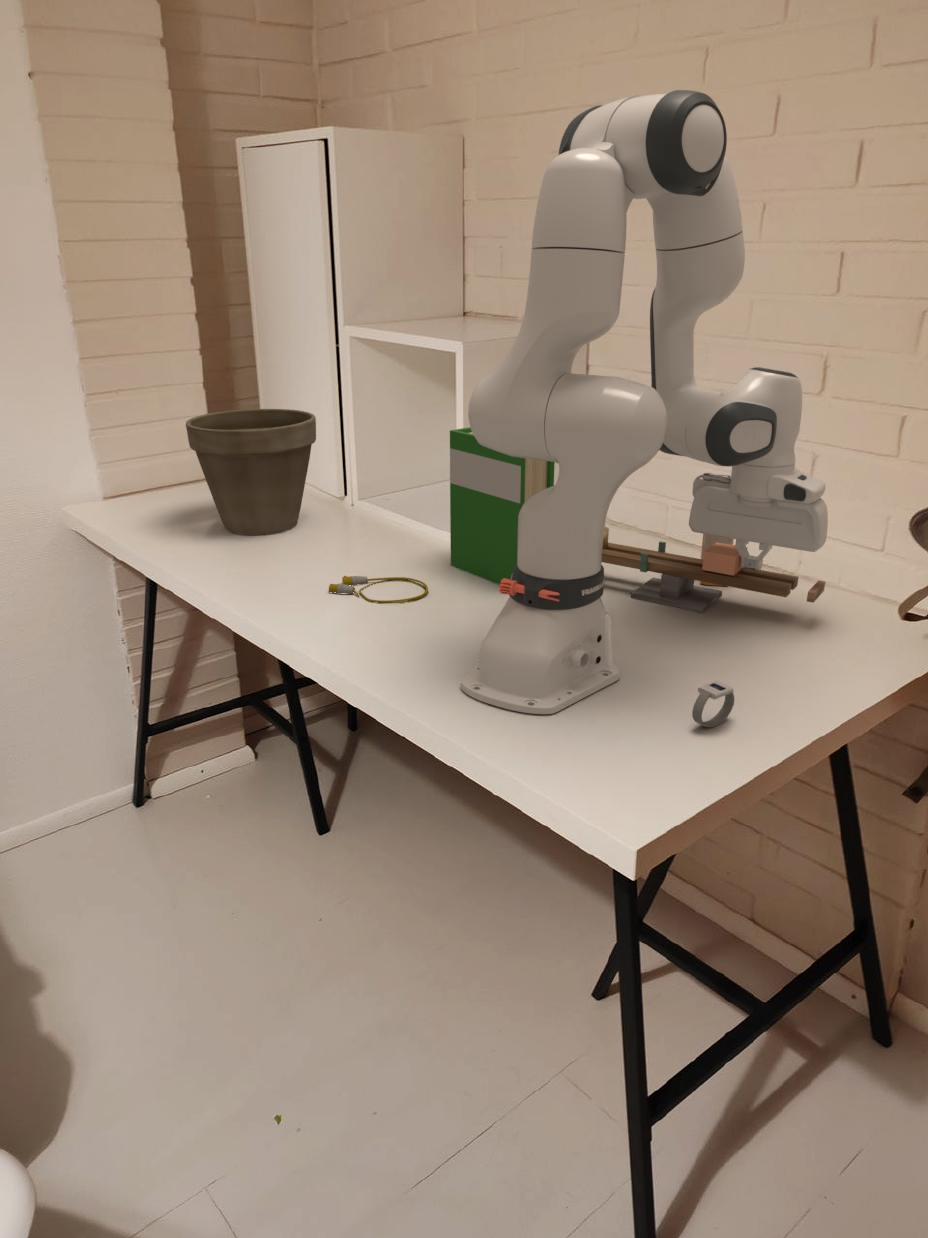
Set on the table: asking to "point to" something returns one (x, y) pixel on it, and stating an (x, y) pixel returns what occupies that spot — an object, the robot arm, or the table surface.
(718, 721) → the wristwatch
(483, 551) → the hardback book
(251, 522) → the plant pot
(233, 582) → the table surface
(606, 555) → the balance scale
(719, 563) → the block
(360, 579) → the extension cord
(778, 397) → the robot arm
